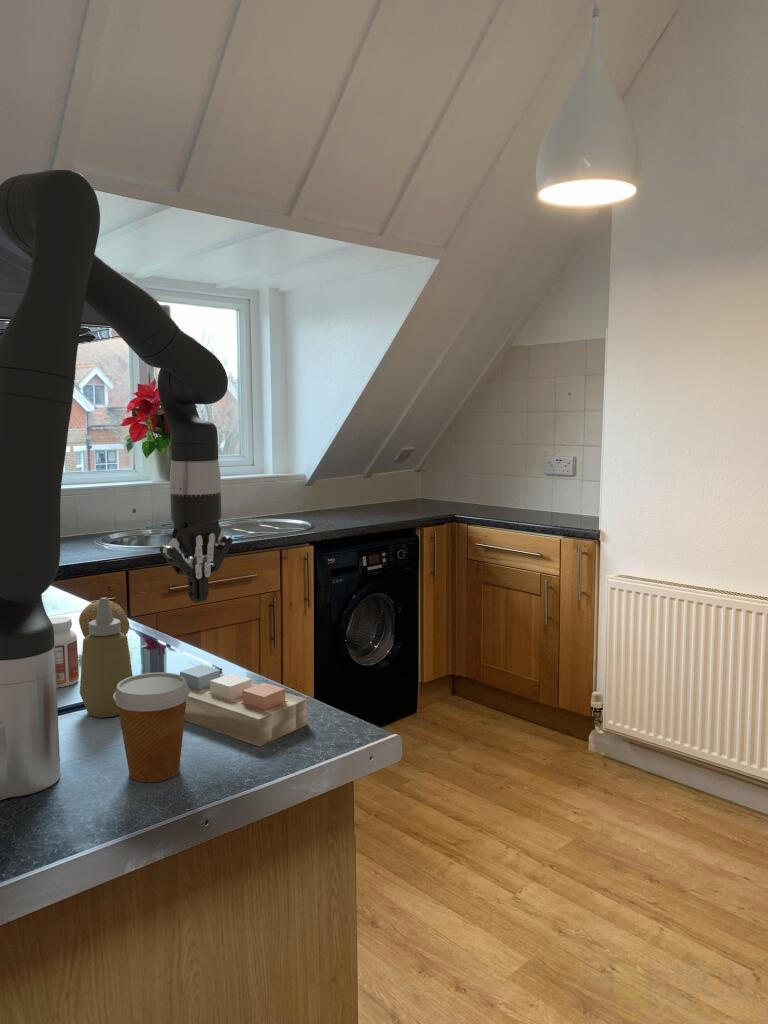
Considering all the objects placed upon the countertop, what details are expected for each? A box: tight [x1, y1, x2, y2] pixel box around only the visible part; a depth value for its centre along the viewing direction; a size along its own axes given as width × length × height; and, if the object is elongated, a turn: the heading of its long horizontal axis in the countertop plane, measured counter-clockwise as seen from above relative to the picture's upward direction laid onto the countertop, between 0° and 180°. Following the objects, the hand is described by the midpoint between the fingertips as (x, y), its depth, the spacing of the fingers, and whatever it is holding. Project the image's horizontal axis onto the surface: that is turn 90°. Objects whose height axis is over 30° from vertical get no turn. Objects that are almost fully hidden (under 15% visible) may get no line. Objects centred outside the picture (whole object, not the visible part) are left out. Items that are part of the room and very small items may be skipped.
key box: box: [184, 673, 308, 747], centre depth 126 cm, size 10×22×4 cm, turn 53°
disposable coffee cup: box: [113, 671, 190, 783], centre depth 107 cm, size 10×10×12 cm
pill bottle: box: [49, 616, 80, 689], centre depth 141 cm, size 6×6×11 cm
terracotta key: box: [242, 682, 286, 711], centre depth 122 cm, size 4×4×3 cm
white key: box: [210, 673, 253, 701], centre depth 126 cm, size 4×4×3 cm
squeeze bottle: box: [79, 597, 134, 718], centre depth 127 cm, size 8×8×18 cm
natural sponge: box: [78, 599, 130, 638], centre depth 159 cm, size 9×9×10 cm
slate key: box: [179, 664, 221, 691], centre depth 130 cm, size 4×4×3 cm
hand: (198, 600), depth 128 cm, fingers closed
